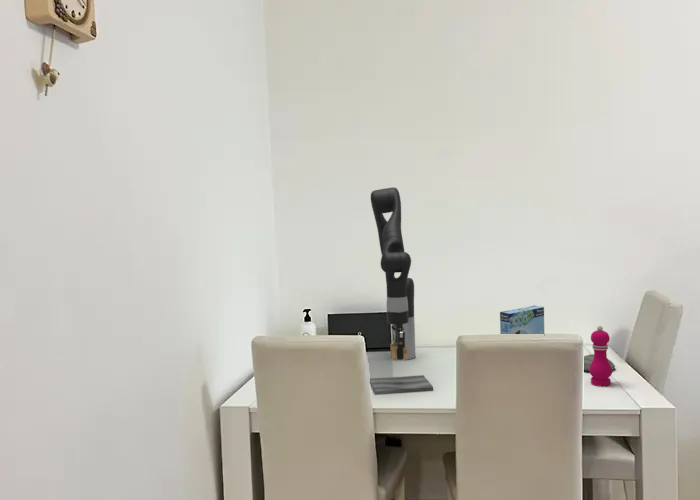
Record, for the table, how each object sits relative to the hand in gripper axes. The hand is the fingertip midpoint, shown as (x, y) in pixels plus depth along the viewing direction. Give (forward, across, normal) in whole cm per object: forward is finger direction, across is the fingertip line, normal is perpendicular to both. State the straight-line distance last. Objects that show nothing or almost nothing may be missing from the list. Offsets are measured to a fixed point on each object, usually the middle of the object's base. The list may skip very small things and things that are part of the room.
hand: (398, 357), depth 230 cm
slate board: (+10, 0, 0) cm, 10 cm away
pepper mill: (+10, +13, +67) cm, 69 cm away
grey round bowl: (+11, -7, +74) cm, 75 cm away
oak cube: (0, 0, 0) cm, 0 cm away
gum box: (+10, -12, +49) cm, 52 cm away
